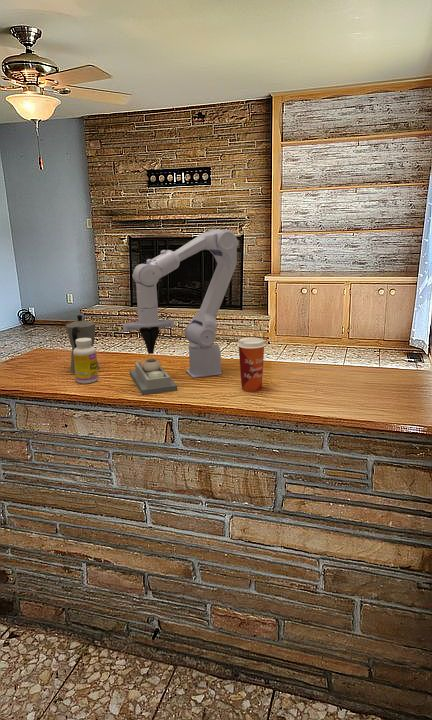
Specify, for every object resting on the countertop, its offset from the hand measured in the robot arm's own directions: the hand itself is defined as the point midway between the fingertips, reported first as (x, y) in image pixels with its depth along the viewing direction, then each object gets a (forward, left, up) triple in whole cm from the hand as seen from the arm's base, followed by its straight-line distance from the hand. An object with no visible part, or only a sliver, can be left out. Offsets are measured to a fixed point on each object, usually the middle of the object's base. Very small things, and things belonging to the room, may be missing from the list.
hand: (150, 353), depth 150 cm
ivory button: (0, 0, -5) cm, 5 cm away
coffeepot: (+18, -21, -9) cm, 29 cm away
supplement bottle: (+18, -10, -9) cm, 22 cm away
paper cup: (-25, +16, -9) cm, 31 cm away
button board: (0, 0, -9) cm, 9 cm away
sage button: (0, +6, -7) cm, 10 cm away
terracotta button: (0, -6, -7) cm, 10 cm away
